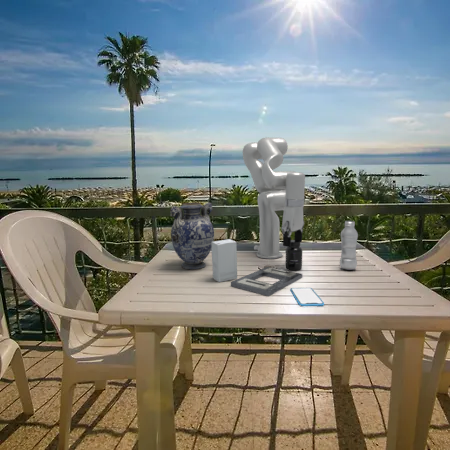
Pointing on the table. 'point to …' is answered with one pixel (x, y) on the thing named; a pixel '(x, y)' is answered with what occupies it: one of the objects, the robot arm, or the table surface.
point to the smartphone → (306, 297)
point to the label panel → (266, 288)
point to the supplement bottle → (294, 256)
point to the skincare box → (224, 260)
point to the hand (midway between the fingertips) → (292, 243)
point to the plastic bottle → (348, 246)
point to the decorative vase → (192, 233)
